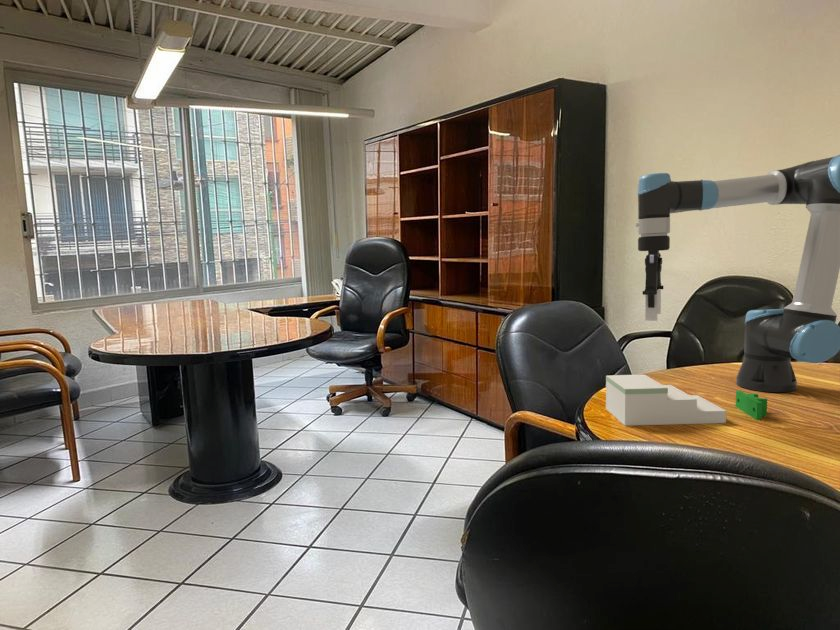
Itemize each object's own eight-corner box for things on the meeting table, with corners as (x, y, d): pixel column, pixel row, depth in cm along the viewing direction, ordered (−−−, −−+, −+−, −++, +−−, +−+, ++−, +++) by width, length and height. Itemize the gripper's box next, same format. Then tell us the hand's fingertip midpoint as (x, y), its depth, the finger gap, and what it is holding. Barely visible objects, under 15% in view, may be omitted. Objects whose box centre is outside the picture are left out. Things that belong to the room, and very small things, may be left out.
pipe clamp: (773, 421, 131) (773, 402, 130) (756, 421, 131) (757, 402, 130) (750, 407, 142) (751, 390, 141) (735, 407, 142) (736, 390, 141)
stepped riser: (696, 406, 143) (697, 372, 142) (725, 423, 129) (727, 386, 128) (605, 408, 144) (605, 375, 143) (624, 425, 130) (625, 389, 129)
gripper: (642, 236, 152) (642, 311, 155) (633, 236, 130) (632, 323, 133) (671, 234, 149) (671, 311, 151) (667, 234, 127) (666, 323, 129)
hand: (653, 317), depth 142 cm, fingers open, 13 cm apart
